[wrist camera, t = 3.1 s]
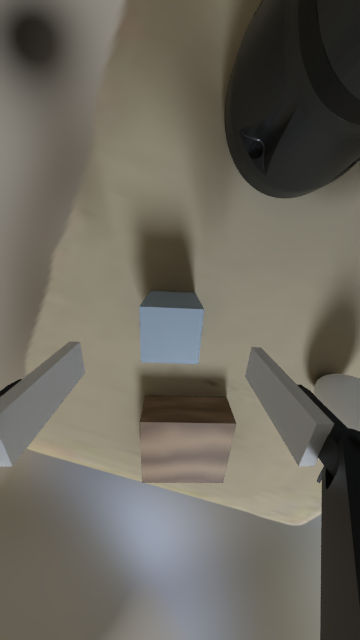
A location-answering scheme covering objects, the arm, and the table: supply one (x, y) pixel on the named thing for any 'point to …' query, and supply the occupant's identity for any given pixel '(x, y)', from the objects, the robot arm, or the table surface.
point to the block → (171, 327)
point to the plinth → (185, 439)
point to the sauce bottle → (341, 397)
